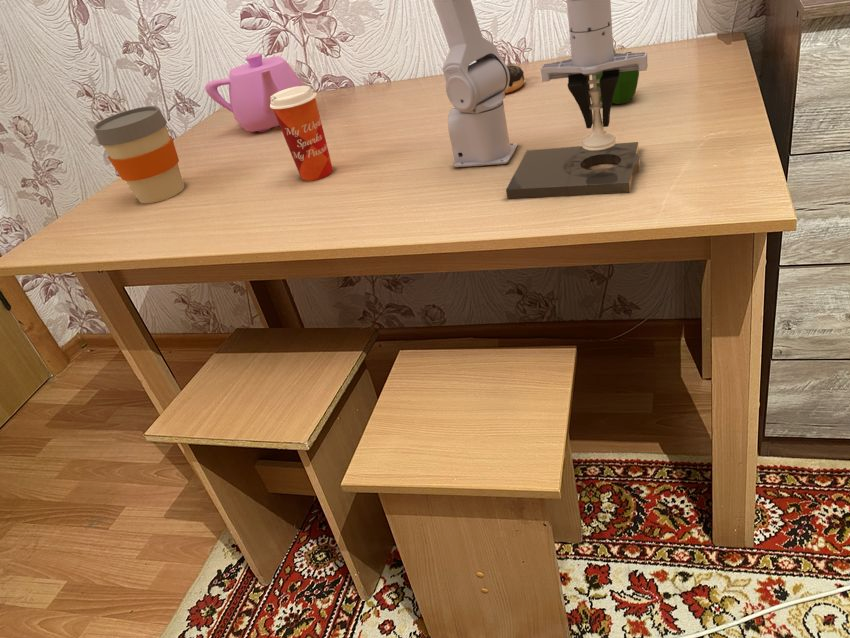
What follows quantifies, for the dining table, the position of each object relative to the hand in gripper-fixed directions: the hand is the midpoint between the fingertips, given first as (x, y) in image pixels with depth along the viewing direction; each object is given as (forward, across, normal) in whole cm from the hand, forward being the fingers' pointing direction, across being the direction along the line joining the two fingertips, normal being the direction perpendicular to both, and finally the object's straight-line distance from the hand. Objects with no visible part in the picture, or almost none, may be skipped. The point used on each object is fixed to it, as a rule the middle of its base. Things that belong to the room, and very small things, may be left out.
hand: (597, 125), depth 102 cm
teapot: (+7, -80, +40) cm, 90 cm away
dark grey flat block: (+7, -4, 0) cm, 8 cm away
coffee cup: (+7, -53, +7) cm, 54 cm away
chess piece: (+3, 0, 0) cm, 3 cm away
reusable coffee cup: (+7, -86, +3) cm, 86 cm away
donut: (+7, -28, +47) cm, 55 cm away
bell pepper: (+7, -1, +32) cm, 33 cm away
